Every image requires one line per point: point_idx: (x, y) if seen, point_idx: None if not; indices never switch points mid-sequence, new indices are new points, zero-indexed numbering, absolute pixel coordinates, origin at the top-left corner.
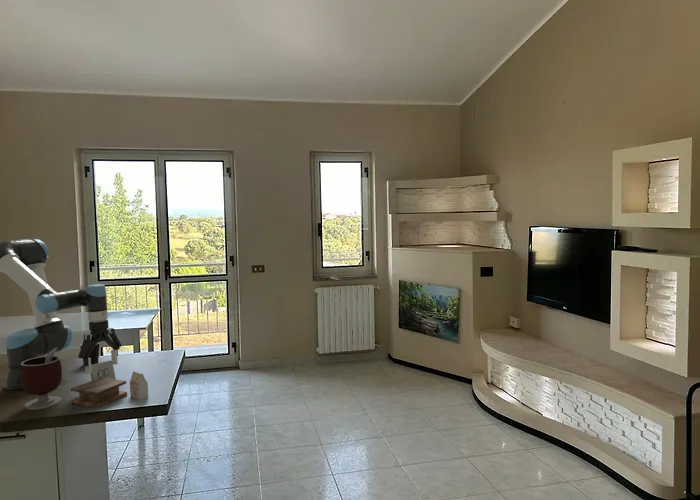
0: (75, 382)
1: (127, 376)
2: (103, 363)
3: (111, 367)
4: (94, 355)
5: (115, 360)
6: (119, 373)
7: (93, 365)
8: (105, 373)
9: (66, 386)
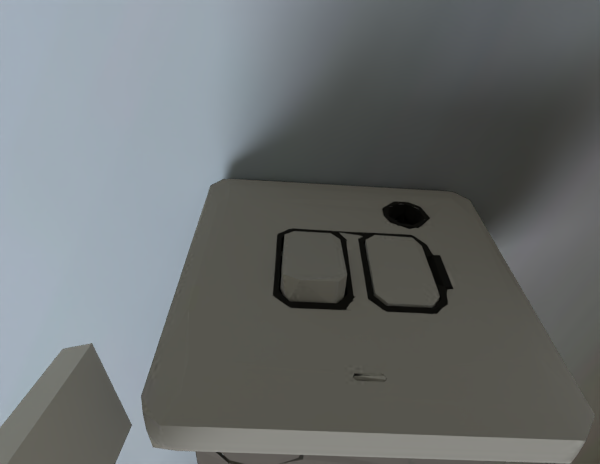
0: None
1: (47, 220)
2: (341, 401)
3: (209, 300)
4: None
5: (59, 413)
6: None
7: (550, 421)
8: (333, 249)
9: None
